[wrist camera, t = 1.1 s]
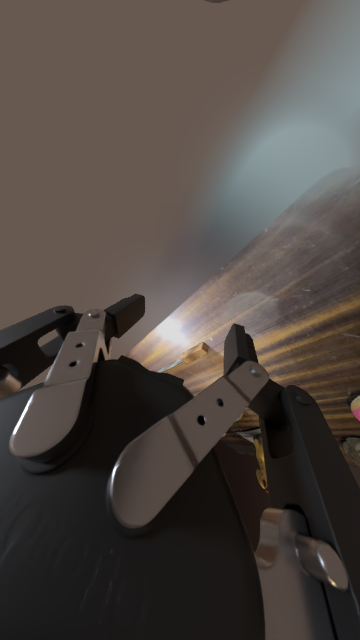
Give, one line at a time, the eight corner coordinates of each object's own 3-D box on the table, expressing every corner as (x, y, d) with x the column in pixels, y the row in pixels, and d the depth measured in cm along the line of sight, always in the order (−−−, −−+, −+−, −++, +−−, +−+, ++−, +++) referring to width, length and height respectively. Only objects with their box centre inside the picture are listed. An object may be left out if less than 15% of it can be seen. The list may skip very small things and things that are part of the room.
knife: (203, 341, 36) (201, 348, 34) (208, 347, 36) (207, 353, 34) (152, 370, 53) (149, 376, 51) (157, 374, 53) (154, 379, 51)
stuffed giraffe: (235, 431, 60) (239, 484, 48) (266, 424, 50) (283, 489, 37) (262, 446, 61) (274, 502, 49) (299, 442, 51) (326, 511, 38)
